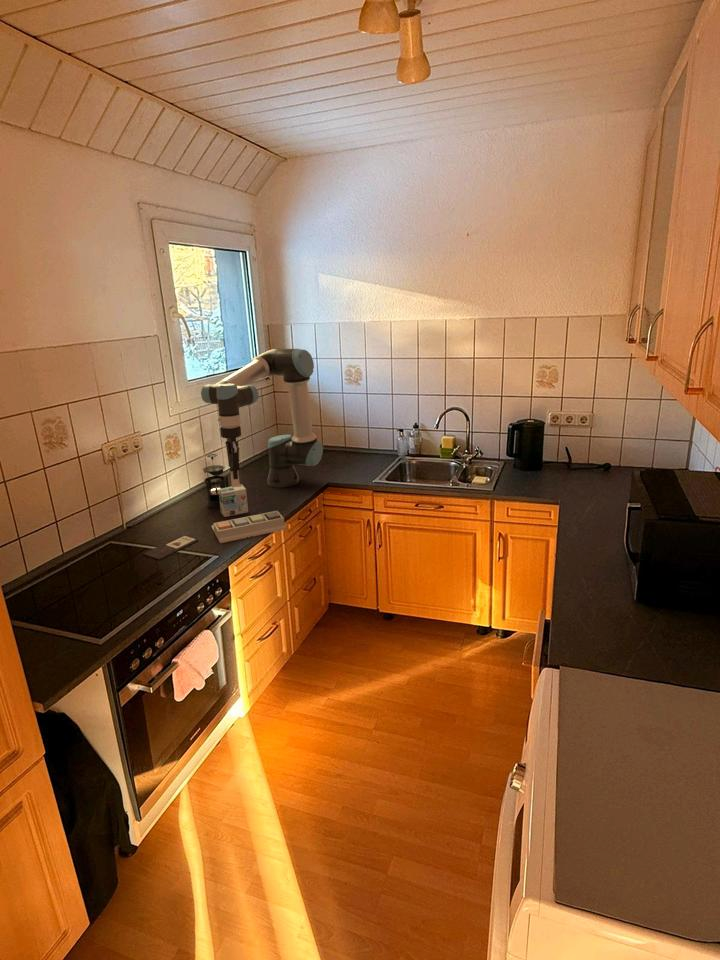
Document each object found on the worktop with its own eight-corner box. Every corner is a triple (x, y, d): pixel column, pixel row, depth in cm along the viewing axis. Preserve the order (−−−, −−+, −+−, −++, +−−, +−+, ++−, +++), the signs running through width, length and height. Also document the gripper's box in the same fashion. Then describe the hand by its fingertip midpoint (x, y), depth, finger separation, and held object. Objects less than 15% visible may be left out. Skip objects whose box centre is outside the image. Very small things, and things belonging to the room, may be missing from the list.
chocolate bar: (142, 553, 203) (182, 535, 217) (143, 556, 203) (182, 537, 217) (159, 559, 198) (198, 539, 212) (159, 561, 199) (198, 542, 213)
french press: (215, 510, 241) (209, 459, 234) (201, 506, 247) (194, 456, 239) (236, 501, 250) (230, 452, 243) (222, 498, 256) (216, 449, 248)
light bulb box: (224, 517, 234) (221, 493, 230) (220, 512, 240) (217, 488, 236) (249, 512, 238) (246, 488, 235) (244, 507, 244) (242, 484, 241)
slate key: (245, 521, 221) (244, 517, 221) (248, 525, 218) (247, 521, 217) (233, 523, 220) (233, 519, 219) (236, 527, 216) (236, 524, 215)
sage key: (261, 518, 224) (260, 514, 223) (264, 522, 220) (263, 518, 220) (250, 520, 222) (249, 516, 222) (253, 524, 218) (252, 520, 218)
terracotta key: (228, 524, 219) (228, 521, 218) (231, 528, 215) (230, 525, 214) (217, 527, 217) (216, 523, 217) (219, 531, 213) (219, 527, 213)
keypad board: (274, 515, 234) (273, 506, 233) (286, 529, 220) (285, 519, 219) (211, 527, 224) (210, 518, 223) (220, 543, 210) (219, 533, 209)
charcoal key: (276, 515, 226) (276, 511, 226) (280, 519, 223) (279, 515, 222) (266, 517, 225) (265, 513, 224) (269, 521, 221) (268, 517, 220)
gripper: (216, 424, 213) (222, 483, 220) (223, 430, 201) (229, 492, 208) (236, 421, 215) (241, 480, 223) (244, 428, 204) (249, 489, 211)
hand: (235, 486), depth 216 cm, fingers closed
